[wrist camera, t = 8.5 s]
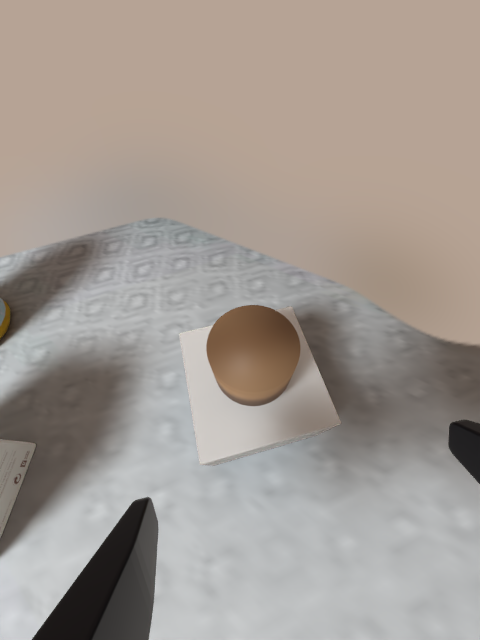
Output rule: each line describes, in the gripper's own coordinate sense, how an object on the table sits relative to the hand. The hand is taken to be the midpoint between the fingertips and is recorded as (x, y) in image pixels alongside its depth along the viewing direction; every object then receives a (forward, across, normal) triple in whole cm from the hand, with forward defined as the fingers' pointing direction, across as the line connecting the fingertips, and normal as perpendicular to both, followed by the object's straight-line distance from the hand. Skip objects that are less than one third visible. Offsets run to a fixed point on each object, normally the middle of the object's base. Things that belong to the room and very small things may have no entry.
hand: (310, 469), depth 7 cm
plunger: (+12, 0, +4) cm, 13 cm away
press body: (+13, 0, +5) cm, 14 cm away
